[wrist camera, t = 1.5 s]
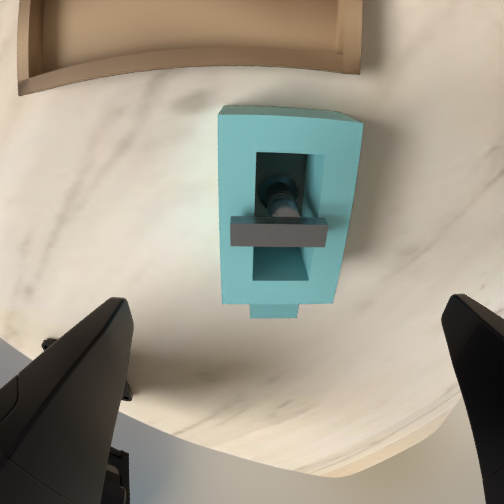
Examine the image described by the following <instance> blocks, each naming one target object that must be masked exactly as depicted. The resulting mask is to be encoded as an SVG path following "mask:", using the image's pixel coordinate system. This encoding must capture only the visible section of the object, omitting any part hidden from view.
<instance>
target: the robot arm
mask: <svg viewBox="0 0 504 504" xmlns="http://www.w3.org/2000/svg"><path fill="white" fill-rule="evenodd" d="M441 323H442V326H443V330H444V334H445V337H446V341H447V345H448V349H449V353H450V357H451V361H452V364H453V368H454V371H455V374H456V377H457V380H458V383H459V386H460V390H461V393H462V396H463V399H464V403H465V406H466V410H467V413H468V417H469V421H470V424H471V429H472V432H473V437H474V441H475V445H476V449H477V454H478V459H479V464H480V469H481V474H482V479H483V487H484V494H485V501H486V504H504V319H503V318H501V317H500V316H498V315H497V314H495V313H494V312H492V311H490V310H489V309H487V308H486V307H484V306H483V305H481V304H480V303H478V302H476V301H475V300H473V299H472V298H470V297H468V296H467V295H465V294H454V295H452V296H451V297H450V299H449V301H448V303H447V305H446V308H445V310H444V312H443V314H442V318H441ZM133 329H134V324H133V319H132V315H131V312H130V308H129V305H128V302H127V300H126V299H125V298H119V297H111V298H109V299H108V300H107V301H105V302H104V303H103V304H102V305H100V306H99V307H98V308H97V309H95V310H94V311H93V312H92V313H90V314H89V315H88V316H86V317H85V318H84V319H83V320H82V321H80V322H79V323H78V324H77V325H75V326H74V327H73V328H72V329H70V330H69V331H68V332H67V333H65V334H64V335H63V336H62V337H61V338H59V339H58V340H57V341H50V340H44V341H43V343H42V348H43V350H44V352H43V353H41V354H40V355H39V356H38V357H37V358H36V359H34V360H33V361H32V362H31V363H30V364H29V365H27V366H26V367H25V368H24V369H23V370H22V371H20V372H19V374H18V375H16V376H15V377H13V378H12V379H11V380H10V381H9V382H8V383H7V384H5V385H4V386H3V387H2V388H1V389H0V504H130V492H129V491H130V490H129V453H127V452H125V451H122V450H121V451H120V450H117V449H115V448H113V447H111V441H112V437H113V432H114V428H115V423H116V419H117V414H118V410H119V406H120V402H121V400H124V401H131V400H132V397H133V395H132V392H131V390H130V388H129V386H128V384H127V382H126V375H127V369H128V362H129V355H130V348H131V342H132V336H133Z"/></svg>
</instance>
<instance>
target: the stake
mask: <svg viewBox="0 0 504 504" xmlns="http://www.w3.org/2000/svg"><path fill="white" fill-rule="evenodd" d="M297 197H298V189H297V186H296V184H295V182H294V181H293V180H292V179H291V178H290V177H288V176H286V175H282V174H275V175H271V176H269V177H267V178H266V179H265V180H264V181H263V182H262V183H261V185H260V188H259V198H260V201H261V203H262V204H263V206H264V207H266V208H267V209H268V214H269V216H231V220H230V246H242V247H325V244H326V238H327V232H328V223H327V221H326V219H325V218H315V217H301V216H300V213H299V210H298V208H297V205H296V200H297Z"/></svg>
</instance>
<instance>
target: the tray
mask: <svg viewBox="0 0 504 504" xmlns="http://www.w3.org/2000/svg"><path fill="white" fill-rule="evenodd" d="M362 9H363V0H20V3H19V15H18V32H17V76H18V95H19V96H23V95H27V94H31V93H35V92H40V91H44V90H47V89H51V88H55V87H59V86H63V85H67V84H72V83H76V82H81V81H86V80H91V79H96V78H102V77H107V76H113V75H120V74H126V73H134V72H141V71H150V70H160V69H171V68H184V67H204V66H265V67H284V68H298V69H309V70H319V71H328V72H335V73H343V74H358V75H360V63H361V44H362Z"/></svg>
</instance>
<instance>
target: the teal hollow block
mask: <svg viewBox="0 0 504 504" xmlns="http://www.w3.org/2000/svg"><path fill="white" fill-rule="evenodd" d="M363 124H364V123H362V122H360V121H358V120H356V119H353V118H351V117H349V116H347V115H345V114H343V113H340V112H336V111H326V110H315V109H303V108H287V107H265V106H224V107H223V108H222V109H221V111H220V112H219V114H218V188H219V231H220V263H221V289H222V304H250V318H297V313H298V307H299V304H326V303H333V300H334V296H335V292H336V287H337V283H338V278H339V273H340V269H341V264H342V259H343V254H344V249H345V244H346V238H347V233H348V228H349V222H350V216H351V211H352V205H353V198H354V192H355V186H356V179H357V172H358V165H359V158H360V150H361V142H362V133H363ZM256 152H276V153H299V154H307V159H306V171H305V182H304V193H303V203H302V213H301V217H315V218H325V219H326V221H327V223H328V232H327V238H326V244H325V247H242V246H230V220H231V216H254V210H255V177H256Z"/></svg>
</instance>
